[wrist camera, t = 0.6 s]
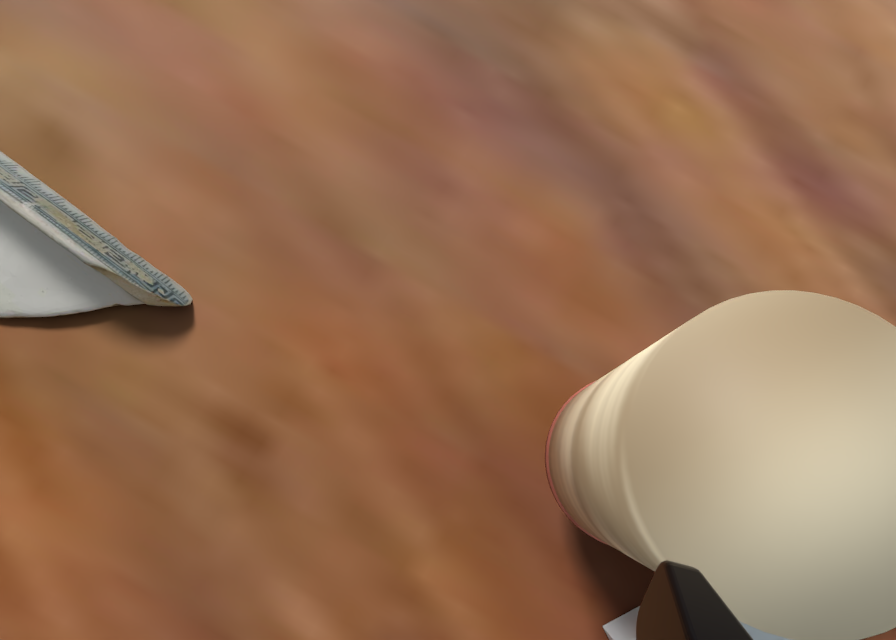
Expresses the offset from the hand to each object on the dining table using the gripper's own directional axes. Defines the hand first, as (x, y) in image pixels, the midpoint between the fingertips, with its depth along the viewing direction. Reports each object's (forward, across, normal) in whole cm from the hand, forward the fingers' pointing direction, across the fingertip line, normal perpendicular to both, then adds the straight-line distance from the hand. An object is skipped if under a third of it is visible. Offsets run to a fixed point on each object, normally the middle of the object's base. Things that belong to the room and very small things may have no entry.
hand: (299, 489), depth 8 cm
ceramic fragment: (+16, +16, +5) cm, 23 cm away
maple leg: (+13, -7, +7) cm, 16 cm away
